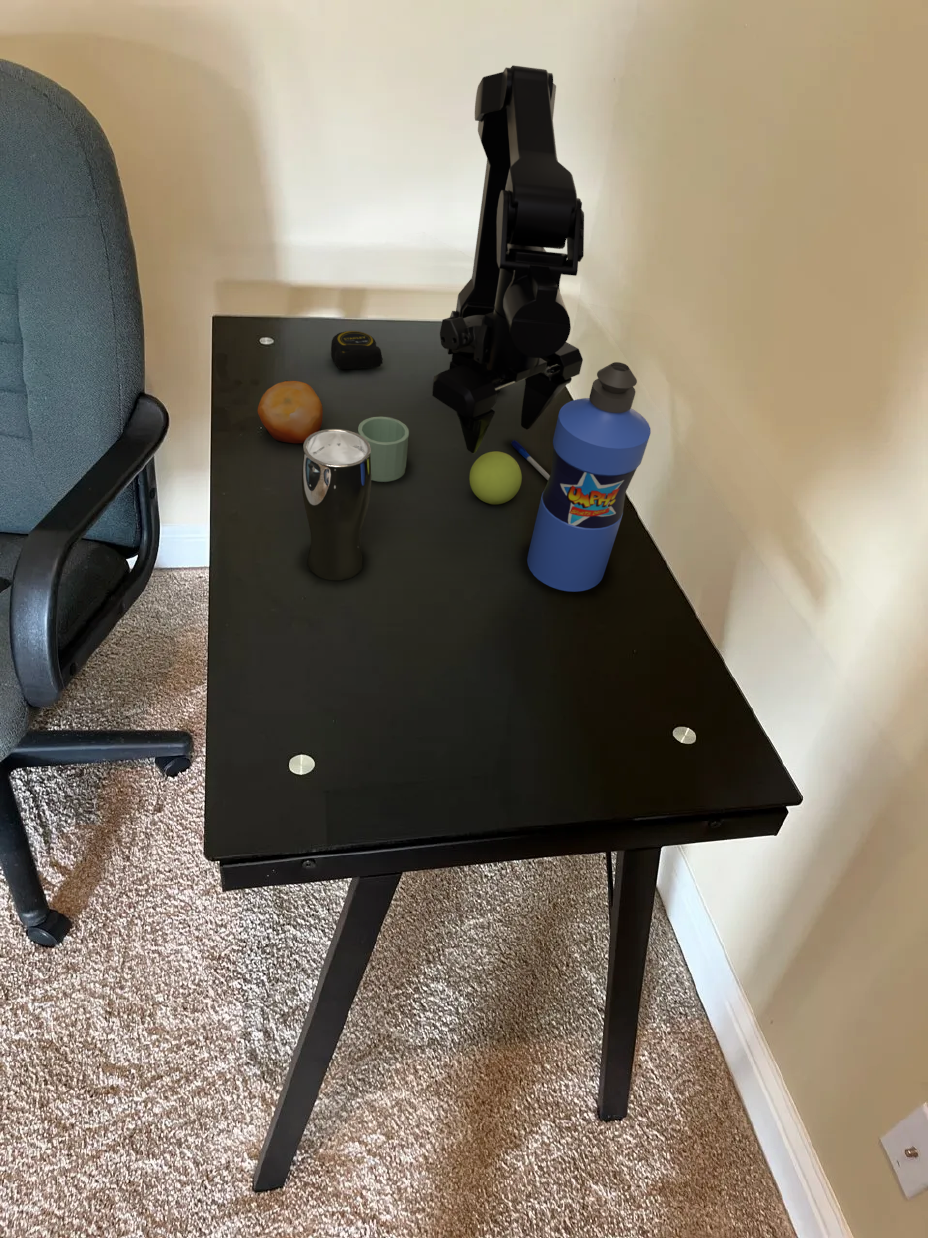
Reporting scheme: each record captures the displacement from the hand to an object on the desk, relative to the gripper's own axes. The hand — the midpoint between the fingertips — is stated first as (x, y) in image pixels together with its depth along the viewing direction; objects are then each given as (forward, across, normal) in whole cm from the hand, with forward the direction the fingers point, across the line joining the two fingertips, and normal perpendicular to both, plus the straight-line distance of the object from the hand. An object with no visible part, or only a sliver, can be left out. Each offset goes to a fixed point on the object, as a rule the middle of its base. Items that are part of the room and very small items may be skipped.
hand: (498, 439), depth 97 cm
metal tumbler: (+9, +23, -2) cm, 24 cm away
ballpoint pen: (+9, -10, -2) cm, 14 cm away
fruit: (+9, +12, -24) cm, 29 cm away
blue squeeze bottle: (+9, +2, +14) cm, 17 cm away
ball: (+5, 0, 0) cm, 5 cm away
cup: (+9, +7, -13) cm, 17 cm away
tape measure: (+9, -7, -35) cm, 36 cm away
